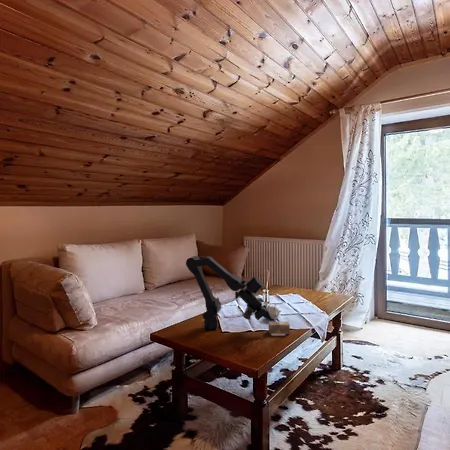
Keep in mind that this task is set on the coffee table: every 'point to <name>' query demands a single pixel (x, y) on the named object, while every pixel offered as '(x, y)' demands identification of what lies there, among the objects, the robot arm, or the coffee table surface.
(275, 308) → the beige lumpy ball
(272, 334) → the felt mat
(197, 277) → the robot arm
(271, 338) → the coffee table surface
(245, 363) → the coffee table surface
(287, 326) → the cardboard box
